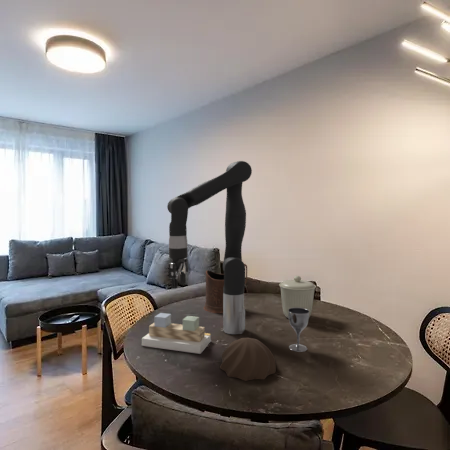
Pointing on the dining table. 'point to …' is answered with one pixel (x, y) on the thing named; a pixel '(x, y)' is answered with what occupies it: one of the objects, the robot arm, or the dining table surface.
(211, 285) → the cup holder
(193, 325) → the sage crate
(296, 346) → the wine glass
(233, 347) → the decorative dome
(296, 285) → the canister
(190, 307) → the dining table surface
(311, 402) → the dining table surface
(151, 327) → the pallet
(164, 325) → the block
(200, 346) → the dock
